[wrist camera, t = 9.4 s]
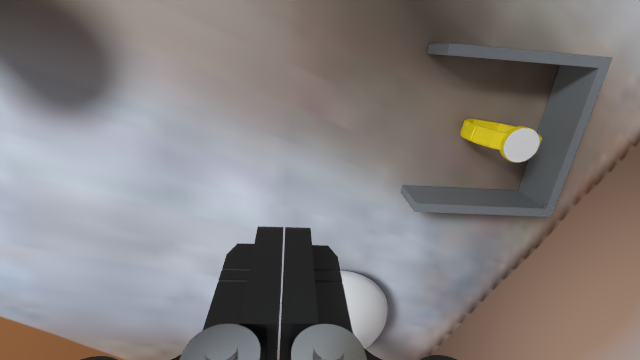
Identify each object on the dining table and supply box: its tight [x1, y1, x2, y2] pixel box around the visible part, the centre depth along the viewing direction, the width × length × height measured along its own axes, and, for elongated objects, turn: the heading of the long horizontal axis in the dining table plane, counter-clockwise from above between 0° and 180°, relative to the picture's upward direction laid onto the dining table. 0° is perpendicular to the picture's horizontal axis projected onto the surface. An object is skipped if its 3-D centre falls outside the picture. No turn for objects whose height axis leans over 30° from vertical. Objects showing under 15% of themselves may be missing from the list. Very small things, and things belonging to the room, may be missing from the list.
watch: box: [460, 119, 542, 163], centre depth 28 cm, size 6×3×6 cm, turn 81°
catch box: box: [401, 43, 612, 217], centre depth 29 cm, size 14×13×4 cm
